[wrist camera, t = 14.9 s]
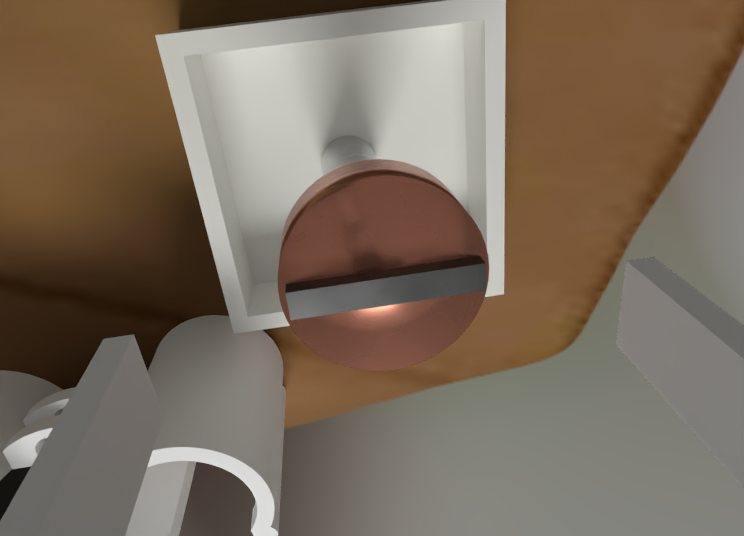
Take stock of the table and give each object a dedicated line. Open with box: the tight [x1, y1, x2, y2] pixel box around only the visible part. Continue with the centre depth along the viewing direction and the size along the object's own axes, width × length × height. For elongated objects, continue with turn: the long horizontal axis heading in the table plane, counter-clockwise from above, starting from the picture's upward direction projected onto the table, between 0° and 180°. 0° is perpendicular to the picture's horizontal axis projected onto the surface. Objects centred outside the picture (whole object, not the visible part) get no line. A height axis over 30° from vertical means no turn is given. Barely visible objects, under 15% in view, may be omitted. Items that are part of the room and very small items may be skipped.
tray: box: [155, 0, 506, 334], centre depth 30 cm, size 16×16×5 cm
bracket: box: [0, 315, 286, 536], centre depth 33 cm, size 25×10×12 cm, turn 105°
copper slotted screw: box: [278, 135, 489, 371], centre depth 25 cm, size 7×7×16 cm
